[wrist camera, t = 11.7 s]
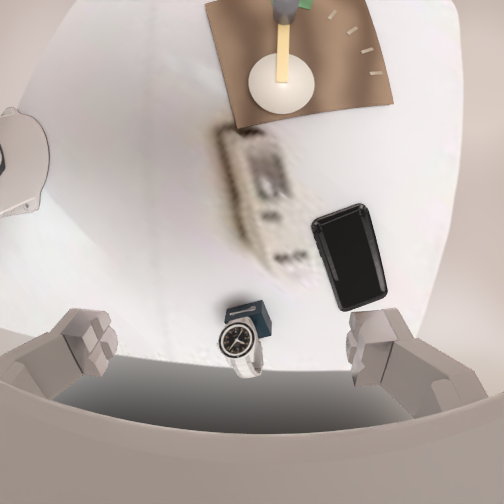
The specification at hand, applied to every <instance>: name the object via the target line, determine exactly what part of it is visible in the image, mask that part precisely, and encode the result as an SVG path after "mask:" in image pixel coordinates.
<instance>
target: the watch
mask: <svg viewBox="0 0 504 504" xmlns="http://www.w3.org/2000/svg"><path fill="white" fill-rule="evenodd" d="M224 323H225V324H226V325H225V328H224V329H223V330H222V332H221V333H220V336H219V339H218V343H217V348H218V349H220V351H221V353H222V354H223V355H224V356H225V358H226V360H227V362H228V363H229V365H230V366H233V368H234V370H235V372H236V373H237V374H238V376H240V377H241V378H249V377H254V376H259V375H261V373H262V366H263V355H262V347H261V342H259V338H264V337H268V336H271V329H272V322H271V320H270V317H269V315H268V313H267V310H266V308H265V305H264V303H263V301H262V300H261V301H257V302H253V303H249V304H246V305H242V306H238V307H234V308H231V309H227V312H226V317H225V321H224Z"/></svg>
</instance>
